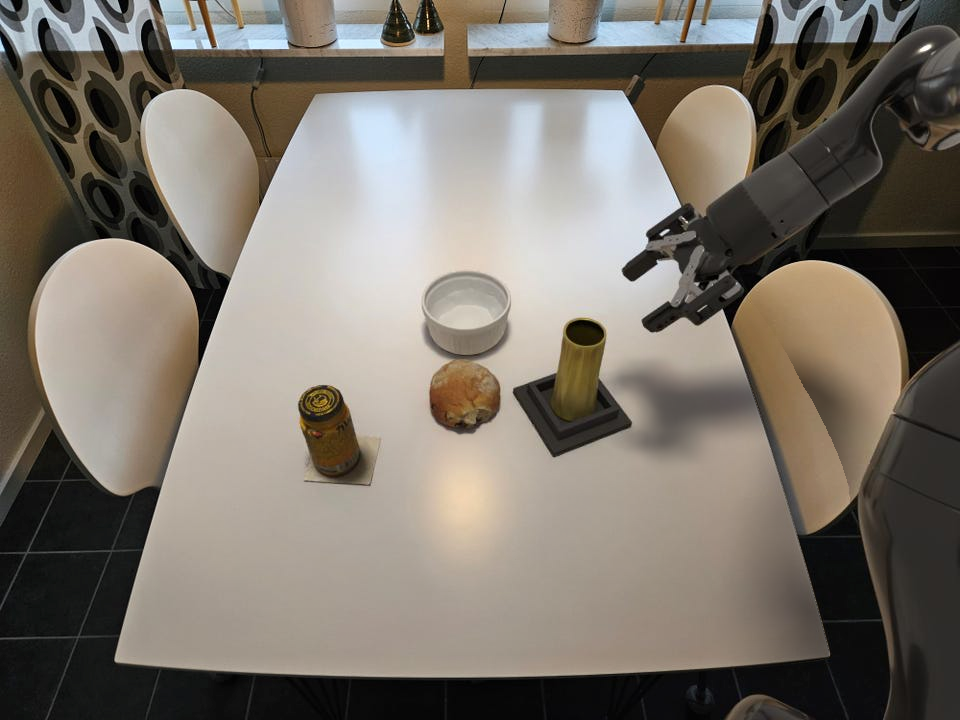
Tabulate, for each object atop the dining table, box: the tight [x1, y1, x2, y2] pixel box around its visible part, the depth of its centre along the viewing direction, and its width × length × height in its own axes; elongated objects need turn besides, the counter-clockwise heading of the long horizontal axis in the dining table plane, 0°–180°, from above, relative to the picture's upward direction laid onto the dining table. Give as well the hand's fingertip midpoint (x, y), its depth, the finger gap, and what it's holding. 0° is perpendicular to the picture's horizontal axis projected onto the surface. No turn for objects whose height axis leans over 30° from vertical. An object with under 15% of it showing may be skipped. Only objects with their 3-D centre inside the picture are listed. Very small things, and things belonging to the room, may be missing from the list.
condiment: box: [297, 384, 382, 485], centre depth 80 cm, size 7×8×12 cm
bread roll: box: [428, 359, 502, 431], centre depth 89 cm, size 10×10×8 cm
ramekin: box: [421, 269, 512, 356], centre depth 97 cm, size 13×13×7 cm
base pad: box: [512, 372, 633, 458], centre depth 88 cm, size 12×12×3 cm
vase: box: [551, 317, 608, 422], centre depth 83 cm, size 6×6×14 cm
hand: (635, 301), depth 73 cm, fingers open, 8 cm apart
